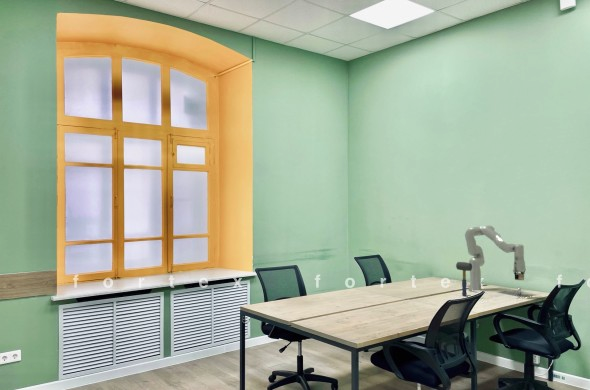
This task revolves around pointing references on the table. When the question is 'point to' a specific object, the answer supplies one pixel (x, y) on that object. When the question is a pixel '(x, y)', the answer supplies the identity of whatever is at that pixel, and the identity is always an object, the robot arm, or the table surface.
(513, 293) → the base plate
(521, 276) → the wooden collar
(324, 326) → the table surface
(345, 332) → the table surface
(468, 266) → the rubber mallet
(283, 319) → the table surface
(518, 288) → the steel shaft
